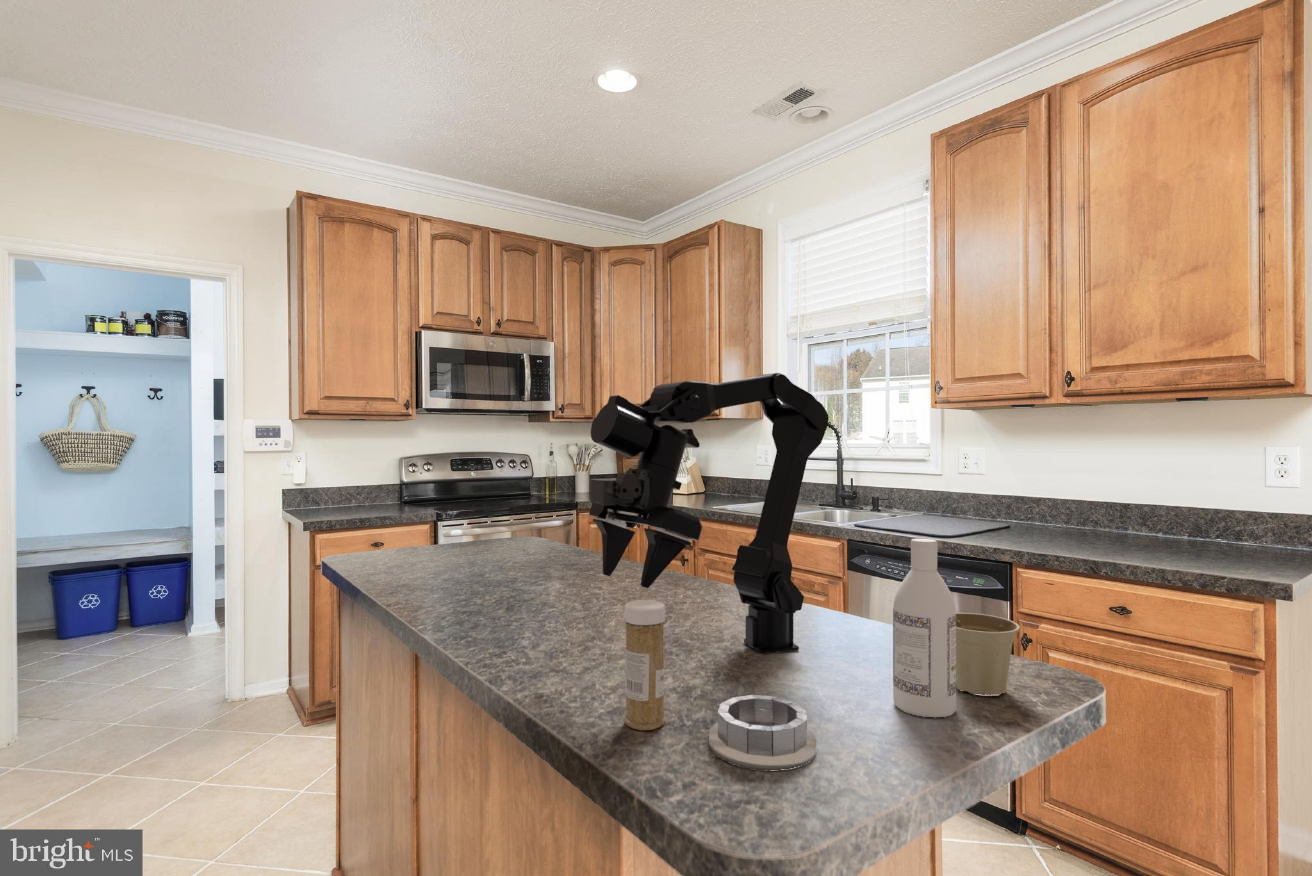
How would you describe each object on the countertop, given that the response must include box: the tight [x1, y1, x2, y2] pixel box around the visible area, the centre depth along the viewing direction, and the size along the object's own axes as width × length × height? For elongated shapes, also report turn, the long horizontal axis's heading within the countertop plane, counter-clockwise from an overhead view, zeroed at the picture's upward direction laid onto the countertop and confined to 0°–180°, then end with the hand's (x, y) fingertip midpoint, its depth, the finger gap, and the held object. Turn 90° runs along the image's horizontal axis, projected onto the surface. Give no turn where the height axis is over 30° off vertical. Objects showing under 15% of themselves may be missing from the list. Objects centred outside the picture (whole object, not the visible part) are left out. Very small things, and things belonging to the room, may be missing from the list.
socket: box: [708, 694, 818, 772], centre depth 69 cm, size 11×11×4 cm
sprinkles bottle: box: [624, 599, 666, 731], centre depth 75 cm, size 5×5×14 cm
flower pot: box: [956, 612, 1021, 695], centre depth 85 cm, size 9×9×9 cm
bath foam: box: [892, 538, 957, 719], centre depth 79 cm, size 7×7×20 cm
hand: (624, 581), depth 87 cm, fingers open, 9 cm apart
